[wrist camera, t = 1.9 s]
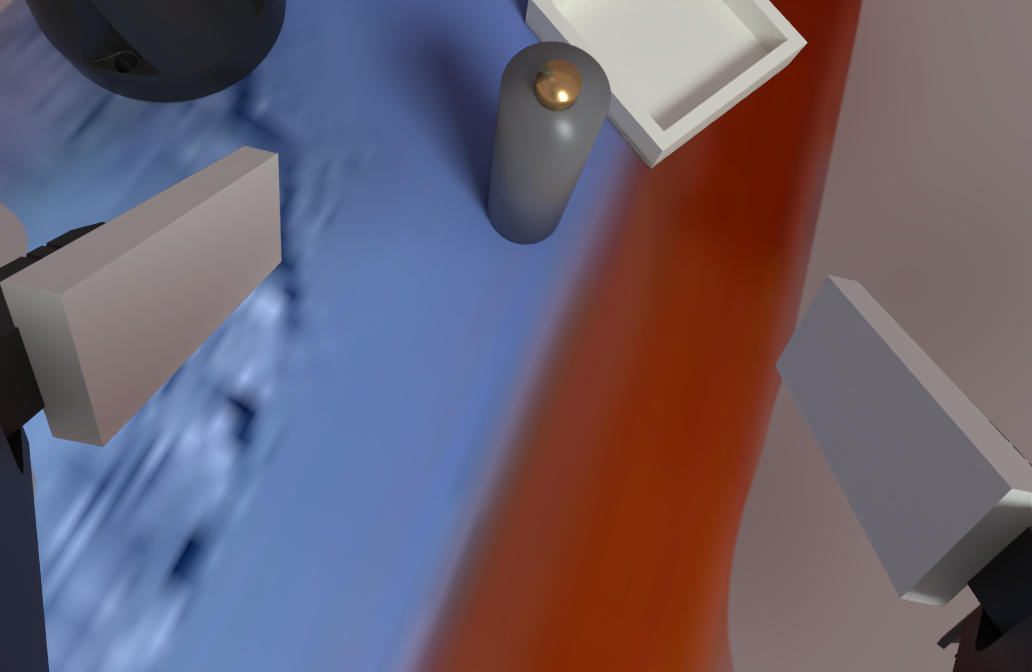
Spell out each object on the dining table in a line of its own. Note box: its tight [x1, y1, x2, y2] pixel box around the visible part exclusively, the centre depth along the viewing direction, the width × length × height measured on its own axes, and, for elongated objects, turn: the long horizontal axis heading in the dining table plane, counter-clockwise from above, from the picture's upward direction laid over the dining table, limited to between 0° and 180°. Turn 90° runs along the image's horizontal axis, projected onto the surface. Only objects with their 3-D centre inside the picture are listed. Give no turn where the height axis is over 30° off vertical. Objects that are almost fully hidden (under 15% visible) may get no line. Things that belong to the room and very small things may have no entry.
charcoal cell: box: [487, 42, 611, 244], centre depth 31 cm, size 5×5×14 cm
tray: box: [525, 0, 807, 169], centre depth 40 cm, size 14×14×2 cm
